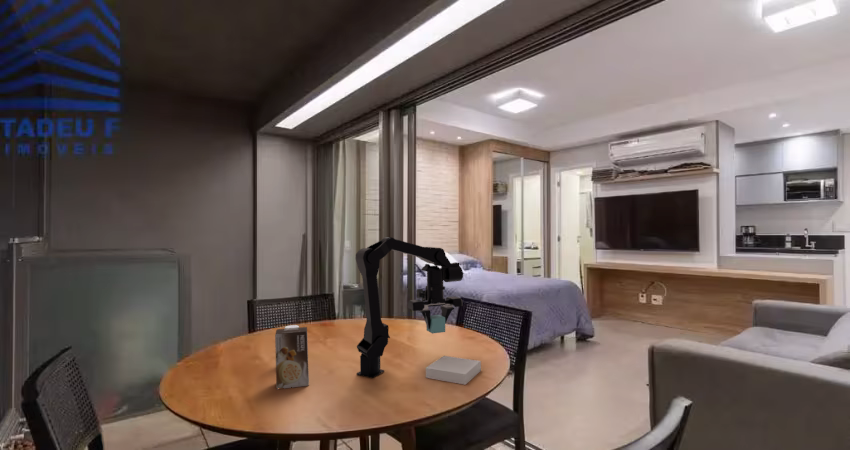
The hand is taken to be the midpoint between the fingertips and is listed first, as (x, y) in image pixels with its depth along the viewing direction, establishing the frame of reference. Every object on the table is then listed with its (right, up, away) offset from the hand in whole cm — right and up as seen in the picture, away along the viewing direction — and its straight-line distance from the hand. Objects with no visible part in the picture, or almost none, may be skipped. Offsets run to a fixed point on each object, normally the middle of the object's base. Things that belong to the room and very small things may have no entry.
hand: (435, 328), depth 138 cm
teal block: (0, -1, 0) cm, 1 cm away
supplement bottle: (-49, -12, -2) cm, 51 cm away
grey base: (+5, -11, -14) cm, 19 cm away
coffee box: (-43, -12, -20) cm, 49 cm away
